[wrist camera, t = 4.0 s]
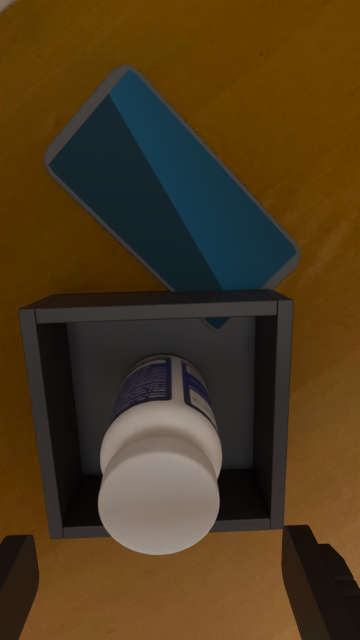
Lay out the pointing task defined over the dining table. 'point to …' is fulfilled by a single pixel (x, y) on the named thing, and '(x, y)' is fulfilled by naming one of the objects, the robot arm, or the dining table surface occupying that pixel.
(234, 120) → the dining table surface
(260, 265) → the smartphone
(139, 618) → the dining table surface
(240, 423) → the black box
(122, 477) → the pill bottle
